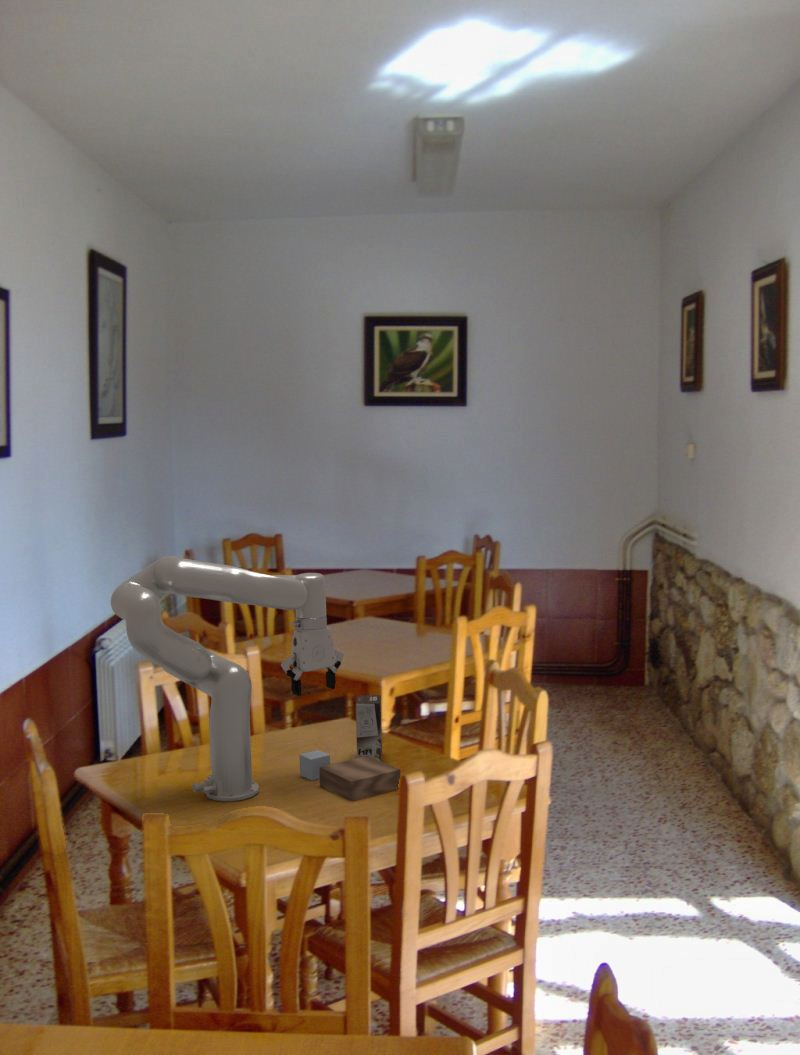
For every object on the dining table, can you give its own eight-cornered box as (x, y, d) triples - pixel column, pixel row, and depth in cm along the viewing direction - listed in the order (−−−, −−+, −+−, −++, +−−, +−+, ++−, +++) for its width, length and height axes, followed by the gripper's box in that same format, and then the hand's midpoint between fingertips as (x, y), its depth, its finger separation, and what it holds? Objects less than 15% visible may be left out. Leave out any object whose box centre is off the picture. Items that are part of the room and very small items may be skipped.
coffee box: (381, 764, 273) (380, 703, 272) (356, 765, 274) (355, 703, 272) (383, 753, 282) (381, 694, 281) (358, 754, 283) (357, 694, 281)
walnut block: (352, 802, 247) (351, 781, 247) (320, 787, 258) (319, 767, 258) (400, 789, 255) (400, 769, 255) (367, 775, 267) (367, 755, 266)
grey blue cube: (311, 781, 262) (311, 759, 262) (300, 775, 266) (299, 754, 266) (330, 776, 265) (329, 755, 265) (318, 771, 270) (318, 749, 269)
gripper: (288, 630, 255) (291, 700, 256) (349, 620, 264) (351, 688, 266) (273, 626, 261) (276, 694, 262) (333, 616, 271) (335, 682, 272)
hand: (314, 691), depth 264 cm, fingers open, 9 cm apart
